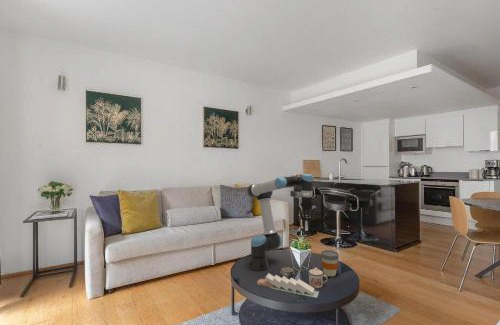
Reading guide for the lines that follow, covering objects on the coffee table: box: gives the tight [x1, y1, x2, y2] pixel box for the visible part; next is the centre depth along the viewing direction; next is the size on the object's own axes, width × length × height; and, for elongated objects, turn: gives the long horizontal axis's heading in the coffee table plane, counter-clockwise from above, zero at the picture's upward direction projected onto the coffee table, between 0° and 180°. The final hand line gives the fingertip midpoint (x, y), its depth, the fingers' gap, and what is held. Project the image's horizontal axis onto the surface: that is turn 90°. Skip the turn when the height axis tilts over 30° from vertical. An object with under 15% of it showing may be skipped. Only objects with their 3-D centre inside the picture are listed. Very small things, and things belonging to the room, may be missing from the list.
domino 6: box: [296, 278, 315, 295], centre depth 165 cm, size 2×6×11 cm
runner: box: [269, 285, 320, 299], centre depth 168 cm, size 30×8×1 cm, turn 67°
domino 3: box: [273, 274, 289, 292], centre depth 171 cm, size 2×6×11 cm
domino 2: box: [264, 272, 281, 289], centre depth 173 cm, size 2×6×11 cm
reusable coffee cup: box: [320, 249, 340, 277], centre depth 193 cm, size 13×13×15 cm
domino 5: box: [288, 277, 305, 294], centre depth 167 cm, size 2×6×11 cm
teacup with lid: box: [308, 267, 328, 289], centre depth 175 cm, size 12×9×12 cm
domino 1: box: [256, 278, 274, 288], centre depth 175 cm, size 2×6×11 cm
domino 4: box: [280, 275, 297, 292], centre depth 169 cm, size 2×6×11 cm
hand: (306, 230), depth 183 cm, fingers closed
